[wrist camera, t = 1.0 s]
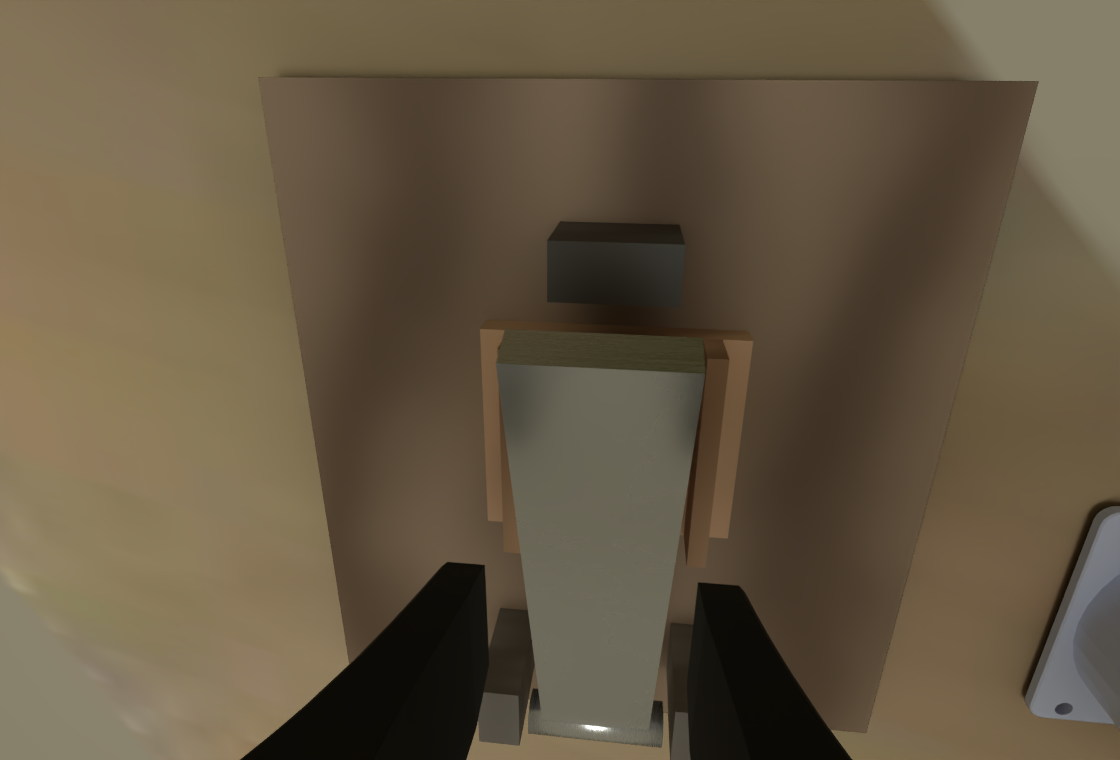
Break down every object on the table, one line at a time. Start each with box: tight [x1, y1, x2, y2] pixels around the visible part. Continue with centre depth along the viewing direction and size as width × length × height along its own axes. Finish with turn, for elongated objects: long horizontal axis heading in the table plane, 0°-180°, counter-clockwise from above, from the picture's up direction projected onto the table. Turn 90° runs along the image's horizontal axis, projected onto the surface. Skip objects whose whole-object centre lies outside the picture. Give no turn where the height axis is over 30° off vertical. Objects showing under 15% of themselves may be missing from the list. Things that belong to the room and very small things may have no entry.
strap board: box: [258, 77, 1038, 760], centre depth 18 cm, size 18×20×4 cm
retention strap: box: [496, 329, 705, 748], centre depth 15 cm, size 4×15×1 cm, turn 179°
